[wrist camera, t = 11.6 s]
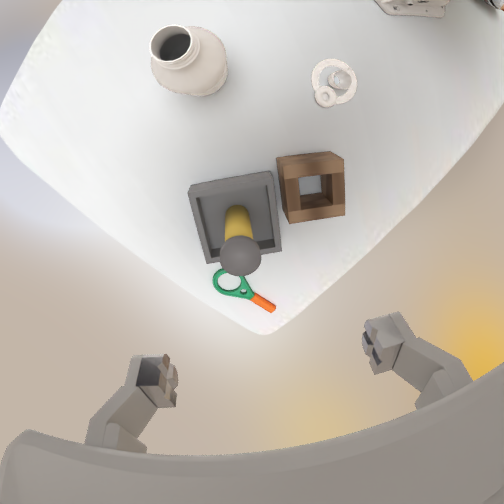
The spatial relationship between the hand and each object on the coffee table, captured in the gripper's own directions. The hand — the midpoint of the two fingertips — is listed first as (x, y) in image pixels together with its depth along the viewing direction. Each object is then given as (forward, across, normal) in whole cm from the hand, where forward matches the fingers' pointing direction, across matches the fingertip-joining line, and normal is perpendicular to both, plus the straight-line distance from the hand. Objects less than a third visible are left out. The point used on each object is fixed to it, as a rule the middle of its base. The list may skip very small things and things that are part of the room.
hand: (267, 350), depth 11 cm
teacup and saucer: (+38, -14, -11) cm, 42 cm away
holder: (+37, -11, +6) cm, 39 cm away
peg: (+36, +2, +10) cm, 38 cm away
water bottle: (+37, +3, -14) cm, 40 cm away
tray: (+37, +2, +10) cm, 38 cm away
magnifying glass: (+38, +3, +27) cm, 47 cm away
